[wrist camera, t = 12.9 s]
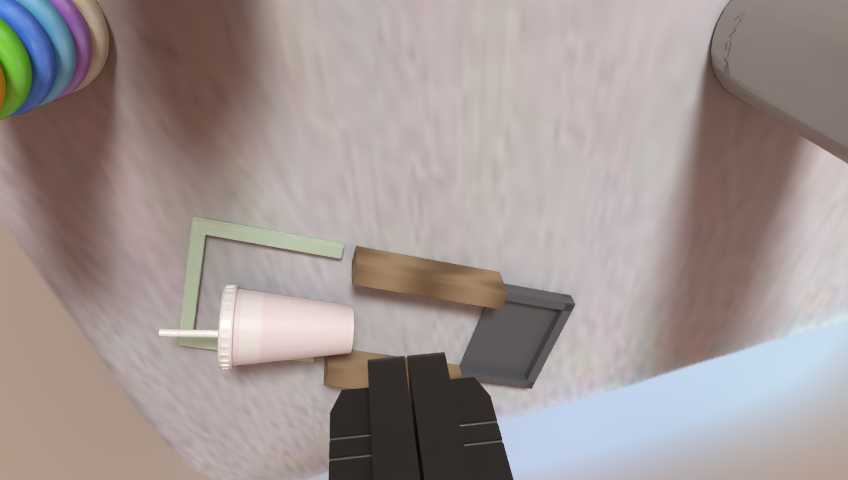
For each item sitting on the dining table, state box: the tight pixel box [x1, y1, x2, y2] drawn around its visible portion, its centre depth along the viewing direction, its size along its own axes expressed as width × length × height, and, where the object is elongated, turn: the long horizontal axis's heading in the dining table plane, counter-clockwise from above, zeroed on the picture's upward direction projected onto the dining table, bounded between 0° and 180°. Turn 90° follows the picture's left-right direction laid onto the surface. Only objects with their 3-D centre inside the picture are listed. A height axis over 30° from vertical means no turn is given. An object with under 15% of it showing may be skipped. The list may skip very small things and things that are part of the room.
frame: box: [178, 216, 344, 363], centre depth 48 cm, size 11×12×1 cm
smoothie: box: [159, 284, 354, 370], centre depth 46 cm, size 6×6×14 cm
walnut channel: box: [324, 246, 508, 389], centre depth 50 cm, size 12×12×3 cm
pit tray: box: [460, 284, 575, 389], centre depth 53 cm, size 7×10×1 cm
